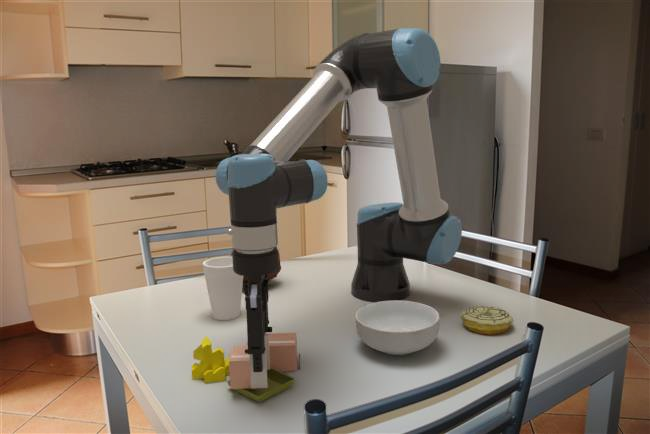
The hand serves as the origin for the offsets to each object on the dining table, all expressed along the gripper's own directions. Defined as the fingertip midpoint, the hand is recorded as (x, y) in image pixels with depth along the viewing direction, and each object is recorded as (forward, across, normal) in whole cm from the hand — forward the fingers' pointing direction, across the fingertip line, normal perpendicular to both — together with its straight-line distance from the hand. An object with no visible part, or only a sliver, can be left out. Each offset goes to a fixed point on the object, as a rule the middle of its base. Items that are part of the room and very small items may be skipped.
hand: (261, 377), depth 99 cm
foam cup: (+2, -36, -11) cm, 38 cm away
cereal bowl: (+2, -15, +26) cm, 30 cm away
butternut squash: (+2, -58, -6) cm, 58 cm away
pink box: (0, 0, -2) cm, 2 cm away
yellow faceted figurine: (+2, -6, -9) cm, 11 cm away
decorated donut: (+2, -24, +47) cm, 53 cm away
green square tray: (+3, 0, 0) cm, 3 cm away
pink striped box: (+2, -9, +2) cm, 9 cm away
